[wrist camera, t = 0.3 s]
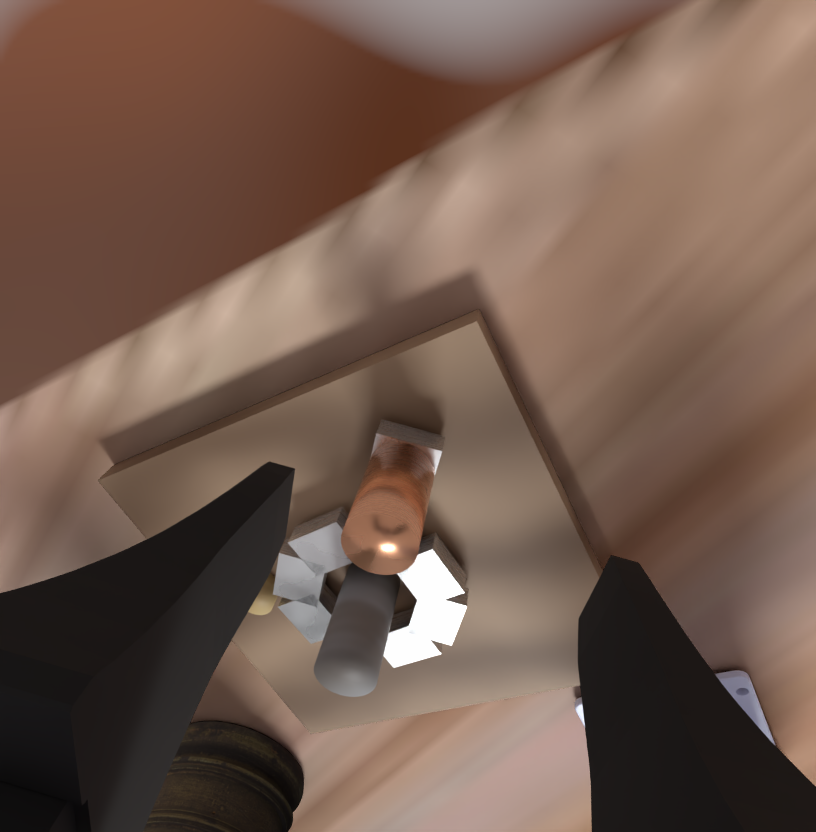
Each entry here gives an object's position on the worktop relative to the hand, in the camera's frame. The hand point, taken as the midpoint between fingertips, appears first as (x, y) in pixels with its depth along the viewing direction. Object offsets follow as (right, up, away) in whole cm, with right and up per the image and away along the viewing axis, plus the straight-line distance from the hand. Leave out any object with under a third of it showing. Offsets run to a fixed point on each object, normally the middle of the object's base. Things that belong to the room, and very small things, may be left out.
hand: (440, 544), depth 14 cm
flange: (-2, -3, +12) cm, 12 cm away
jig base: (-2, -4, +14) cm, 15 cm away
